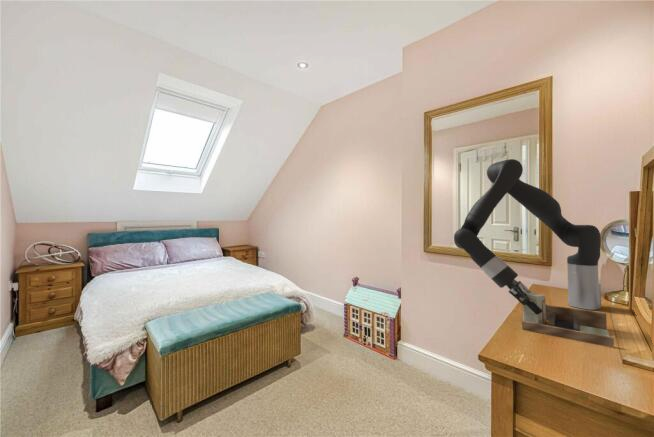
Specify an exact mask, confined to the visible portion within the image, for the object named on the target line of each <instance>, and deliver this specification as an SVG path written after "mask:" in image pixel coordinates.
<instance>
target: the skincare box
mask: <svg viewBox="0 0 654 437" xmlns="http://www.w3.org/2000/svg"><path fill="white" fill-rule="evenodd" d="M531 292H532V291H531ZM531 292H530V293H529V292H528V297H529V298H530V299H531V300H532V301H533V302H534V303H535V304H536V305H537V306H538V307H539V308H540V309H542V312H541V313H540V314H538V315H537V314H535V313H534V312H533V311H532V310H531V309H530V308H529V307H528V306H526V305H522V318H523V320H522V321H527V322H532V323H538V324H543V325H547V319H546V306H545V304H546V294H542V293H541V294H540V293H536V292H532V293H531ZM523 300H525V298H524V299H523Z"/></svg>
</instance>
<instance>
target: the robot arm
mask: <svg viewBox="0 0 654 437" xmlns="http://www.w3.org/2000/svg"><path fill="white" fill-rule="evenodd" d="M523 170H524V169H523V164H522V163H521V162H520V160H518V159H512V158H511V159H509V158H508V159H504V160H501V161H497V162H495V163H492V164H490V165H489V166H488V167H487V170H486V175H487V178H488V180H489V181H490V182H491V183H492V185H491V186H490V188H489V189H488V190H487V191H486V192H484V194H483V195H482V196H481V197H479V199H477V201H476V202H475V203H474V204H473V205H472V207H471V209H470V210H469V212H468V213H467V215H466V217H465V219H464V221H463V224H462V225H461V227H460V228H459V229H457V230H456V231H455V233H454V236H453V241H454V244H455V246H456V247H457V248H459V249H461V250H464V251H465V252H466V253H467V254H468V255H469V256H470V259H471V260H472V261H473V262H474V263H475V264H476V265H477V266H478V267H479V268H481V269H482V271H483V272H484V274H486V275H487V276H488V277H489V278H490V279H491V280H492V282H494V283H495V284H496V285H497V286H498V287H499V288H501V289H502V288H504V287H505V286H506V287H507V288H508V289H509V290H508V293H509V294H510V295H512V296H513V297H514V298H515V299H516V300H517V301H518V302H519V303H520V304H521V305H522V306H523V305H526V306H528V307H529V308H530V309H531V310H532V311H533V312H534V313H535V314H537V315H538V314H540V313H541V312H542V309H540V308H539V307H538V306H537V305H536V304H535V303H534V302H533V301H532V300H531V299H530V298H529V297H528V292H529V293H530V292H531V293H533V292H532V291H531V290H530V289H529V288H528V287H527V286H526V285H525V284H524V283H523V282H522V281H520V280H519V281H518V280H516V278H517V277H519V276H518V275H519V274H518V273H517V272H516V271H515V270H514V269H512V267H511V266H509V265H508V263H506V262H505V261H504V260H502V259H501V258H500V257H498V255H496V254H495V253H494V252H493V251H492V250H491V249H489V248H488V247H487V245H485V244H484V243H483V242H482V241H481V240H480V238H479V237H478V235H479V233H480V232H481V230H482V228H483V227H484V225H485V224H486V223H487V221H488V219H489V218H490V216H491V215H492V213H493V212H494V210H495V208H496V207H497V206H498V205H499V203H500V202H501V200H503V198H504V197H505V196H506V194H508V195H510V196H511V197H512V198H513V199H514V200H516V202H517V203H519V204H521V205H522V206H523V207H524V208H525V209H526V210H528V211H529V213H530V214H532V216H533V215H534V217H536V218H537V219H538V220H539V221H541V222H542V223H543V224H544V225H545V226H546V227H548V228H549V229H550V230H551V231H552V232H553V233H554V235H555V236H557V237H558V239H560V241H561V242H562V243H563V244H565V245H566V246H569V247H572V248H577V252H576V253H575V254H573V255H569V256H567V258H566V261H567V262H566V264H567V298H568V299H567V300H568V304H567V305H569V306H571V307H572V308H575V309H580V310H588V311H595V310H600V309H602V285H601V283H599V282H600V281H599V260H600V257H601V245H602V244H601V243H602V237H601V233H600V230H599V229H598V227H597V226H595V225H592V224H574V223H571V222H570V221H569V220H567V219H566V218H564V216H563V215H562V209H561V208H562V207H561V205H560V202H558V201H557V200H556V199H555V198H554V197H553V196H552V195H551V194H550V193H548V192H547V191H545V190H543V189H541V188H540V187H536V186H534V185H531V184H528V183H527V182H525V181H523V180H521V179H520V178H521V177H522V175H523V172H524V171H523ZM524 298H525V300H523V299H524Z"/></svg>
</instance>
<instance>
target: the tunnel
mask: <svg viewBox="0 0 654 437" xmlns="http://www.w3.org/2000/svg"><path fill="white" fill-rule="evenodd" d="M545 306H546V321H547V320H548V321H550V323H549V324H546V325H543V324H538V323H532V322H527V321H523V320H522V322H521V323H522V326H521V327H522V328H521V329H522V330H523V329H524V330H525V331H529V332H535V333H539V334H545V335H549V336H553V337H559V338H563V339H569V340H573V341H574V340H575V341H578V342H584V343H589V344H594V345H600V346H604V347H609V348H614V340H615V339H614V337H613V336H610V333H609V330H608V329H607V328H608V327H607V326H608V325H607V321H608V319H607V313H606V312H600V311H595V310H588V309H581V308H575V307H572V308H571V307H564V306H558V305H552V304H546V303H545Z"/></svg>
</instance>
